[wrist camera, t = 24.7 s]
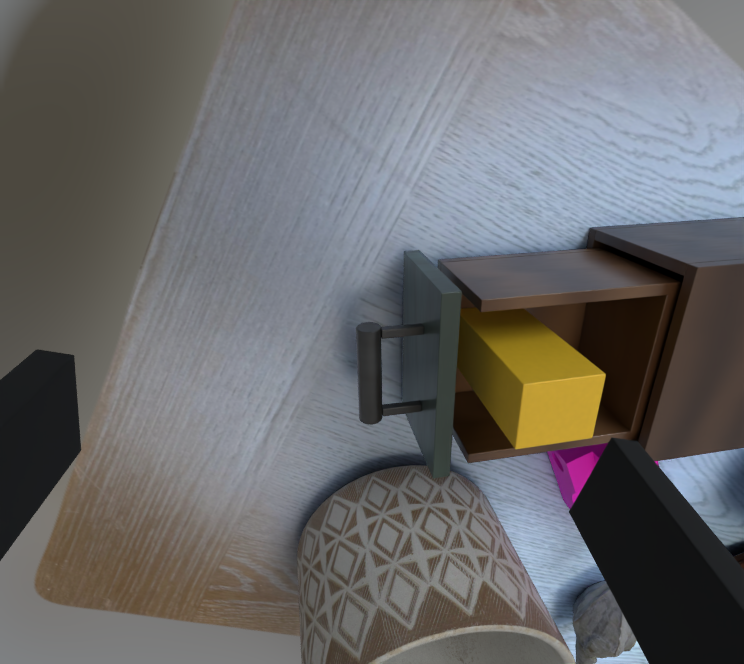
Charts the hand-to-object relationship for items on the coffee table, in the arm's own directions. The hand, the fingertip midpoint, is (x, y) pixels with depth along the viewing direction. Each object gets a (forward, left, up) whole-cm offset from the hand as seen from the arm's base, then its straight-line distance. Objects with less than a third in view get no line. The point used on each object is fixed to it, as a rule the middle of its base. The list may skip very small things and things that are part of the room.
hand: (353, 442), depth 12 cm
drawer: (+9, +12, -23) cm, 27 cm away
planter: (+31, +6, -24) cm, 39 cm away
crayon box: (+8, +13, -22) cm, 27 cm away
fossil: (+47, +30, -24) cm, 60 cm away
